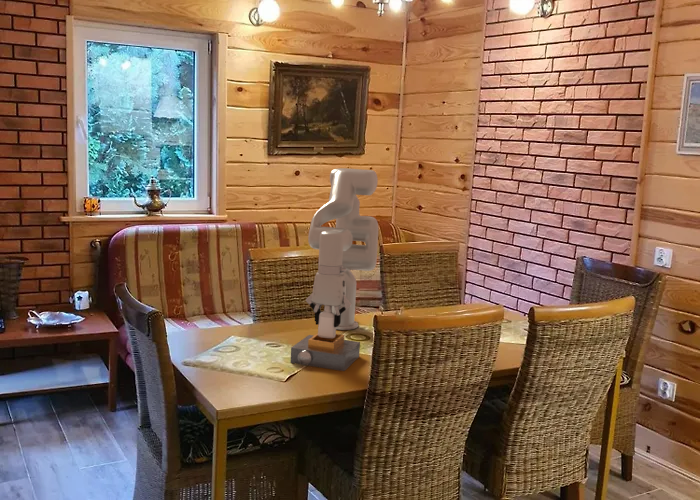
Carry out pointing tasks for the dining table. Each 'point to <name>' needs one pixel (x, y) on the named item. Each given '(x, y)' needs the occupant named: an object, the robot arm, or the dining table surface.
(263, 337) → the dining table surface
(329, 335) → the eye dropper bottle
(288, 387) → the dining table surface
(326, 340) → the grey scale with tray
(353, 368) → the dining table surface
